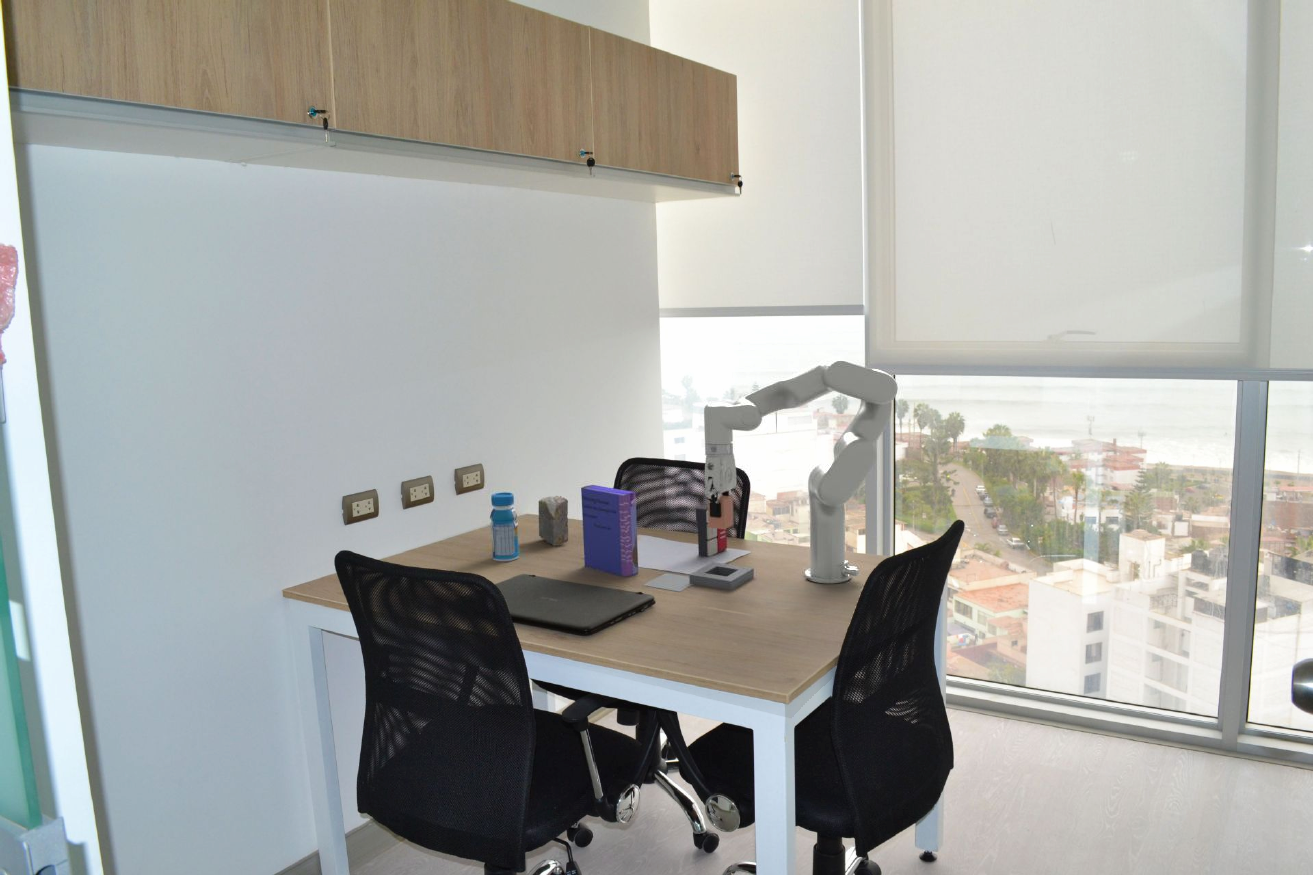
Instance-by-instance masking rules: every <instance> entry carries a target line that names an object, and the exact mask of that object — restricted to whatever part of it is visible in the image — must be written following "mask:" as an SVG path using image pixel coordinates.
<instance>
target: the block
mask: <svg viewBox="0 0 1313 875" xmlns="http://www.w3.org/2000/svg"><path fill="white" fill-rule="evenodd" d="M714 495H715V497H716V494H714ZM719 503H721V517H720V518H716V517H710V503H709V501H708V500H707V504H708V525H709V527H710V528H718V529H726V528H727V529H729V528H731V527H733V526H734V497H733V495H732V496H722V495H721V494H720V500H719Z"/></svg>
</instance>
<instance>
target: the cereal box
mask: <svg viewBox="0 0 1313 875" xmlns="http://www.w3.org/2000/svg"><path fill="white" fill-rule="evenodd" d="M580 490H581V491H580V492H581V495H580V496H581V497H580V498H581V514H582V515H581V516H582V535H583V537H582V538H583V554H584V555H583V556H584V560H583V561H584V567H585V568H590V569H593V570H597V571H599V572H604V573H608V574H612V575H616V576H619V577H623V578H630V577H632V576H636V575H639V556H638V555H639V554H638V528H637V527H638V526H637V525H638V524H637V499H636V498H637V495H636V492H634V491H631V490H626V489H625V490H624V489H617V488H613V487H607V486H602V485H595V484H589V485H585V486H583V487H580Z"/></svg>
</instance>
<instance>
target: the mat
mask: <svg viewBox="0 0 1313 875" xmlns="http://www.w3.org/2000/svg"><path fill="white" fill-rule="evenodd" d="M694 585H695V584H693V583H690V581H689V576H686V575H679V574H673V573H669V572H668V573H667V572H666V573H664V574H661V575H659V576H658V577H655V578H653V579H651V580H649V581H648V582H646V583H644V584H642V586H643V587H648V588H655V589H660V590H666V591H672V592H678V593H681V592H683V591H684V590H687V589H688V588H690V587H692V586H694Z"/></svg>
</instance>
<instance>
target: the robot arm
mask: <svg viewBox="0 0 1313 875" xmlns="http://www.w3.org/2000/svg"><path fill="white" fill-rule="evenodd" d="M898 391H899V390H898V383H897V381H896V379H895V378H894V377H893V376H892V375H891V374H889V373H887V372H885V371H882V370H880V369H875V368H868V367H865V366H863V365H860V364H857V363H853V362H851V361H848V360H846V359H842V358H840V357H834V356H833V357H829V358H826V359H824V360H822V361H820V362H818V363H816V364H815V363H814V364H813V365H811V366H809V367H807V368H805V369H804V370H801V371H799V372H797V373H795V374H792V375H790V376H789V377H787V378H785V379H784V378H783V379H781V380H779V381H777V382H774V383H772V384H769V385H767V386H764V387H762V388H760V389H758V390H755V391H753V392H751V393H749V394H747V395H745V396H743V397H741V398H739V399H737V400H736V401H735V402H733V404H732V405H730V404H729V403H725V402H712V403H708V404H706V405H705V406H704V409H703V419H704V420H703V422H704V423H703V424H704V453H705V454H704V455H705V463H704V464H705V465H704V489H705V491H704V495H705V497H706V498H707V502H708V501H709V503H710V517H716V518H720V517H721V503H719V500H720V495H722V496H732V497H733V494H732V493H733V490H734V488H736V486H737V484H738V483H737V480H738V479H737V468H736V466H737V465H736V459H735V454H734V440H733V438H734V436H733V433H734V432H733V431H742V432H751V431H754V430H756V429H758V428H759V427H760V425H761V423H762V422H763V417H766V416H768V415H771V414H772V413H775V412H778V411H781V410H787V409H796V408H801V407H803V406H805V405H807V404H809V403H811V402H814V401H815V400H817V399H819V398H822V397H823V396H826V395H828V394H830V393H832V392H836V393H838V394H842V395H844V396H847V397H850V398H854V399H858V400H860V405H859V408H858V411H857V412H856V414H855V415H854V417H853V418H852V420H851V422H850V423H849V424H848V425H847V427H846V428H845V430H844V431H843V433H842V434H841V435H840V437H838V439H837V440H836V442H835V443H834V446H833V456H834V457H835V460H834V461H833V462H832V464H831V463H821V464H818V465H817V466H815V467H813V469H812V471H811V472H810V473H809V476H808V481H807V488H808V489H807V490H808V498H809V500H808V501H809V502H808V503H809V555H810V556H809V558H810V559H809V568H808V569H806V570H805V571H804V577H805V578H806V579H807V580H808V581H810V582H814V583H819V584H838V583H844V582H847V581H848V580H850V579H852V578H851V577H858V576H859V573H860V570H859V567H857V566H850V565H849V560H846V505H845V504H847V502H848V501H850V499H851V498H852V497H853V496H854V494H856V492H857V491H858V489H859V488H860V486H862V484H863V482H864V481H865V480H866V478H867V477H868V475H870V473H871V471H872V470H873V468H874V466H875V464H876V460H877V450H876V447H875V444H876V443H877V441H878V440H879V438H880V436H881V435H882V434H883V432H884V431H885V429H886V427H887V425H888V424H889V422H890V419H891V416H892V410H893V409H892V406H893V405H892V404H893V403H892V401H893V400H894V399H895V397H896V396H897V394H898ZM715 495H716V497H715Z"/></svg>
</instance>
